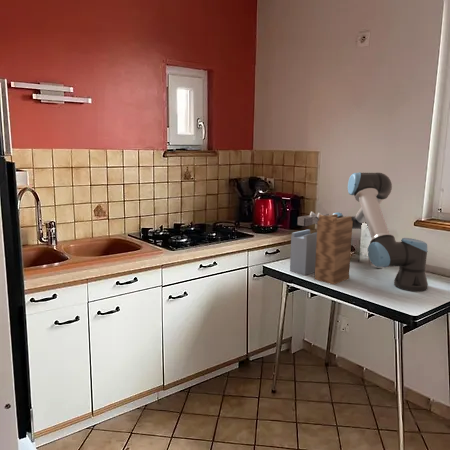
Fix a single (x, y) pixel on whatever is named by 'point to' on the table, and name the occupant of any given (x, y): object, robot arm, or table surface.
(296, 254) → the block
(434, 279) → the table surface
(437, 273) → the table surface
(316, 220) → the grey bar
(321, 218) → the stand
